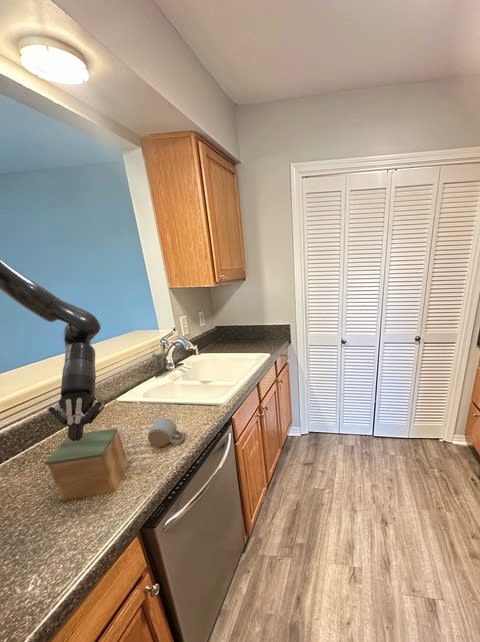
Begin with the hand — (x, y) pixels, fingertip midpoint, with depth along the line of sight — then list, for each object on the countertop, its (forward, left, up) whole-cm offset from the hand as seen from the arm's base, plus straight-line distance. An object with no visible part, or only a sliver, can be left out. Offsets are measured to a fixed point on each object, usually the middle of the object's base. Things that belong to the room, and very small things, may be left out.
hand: (75, 439), depth 82 cm
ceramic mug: (+16, +24, -17) cm, 33 cm away
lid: (0, +3, -4) cm, 5 cm away
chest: (0, +4, -17) cm, 17 cm away
